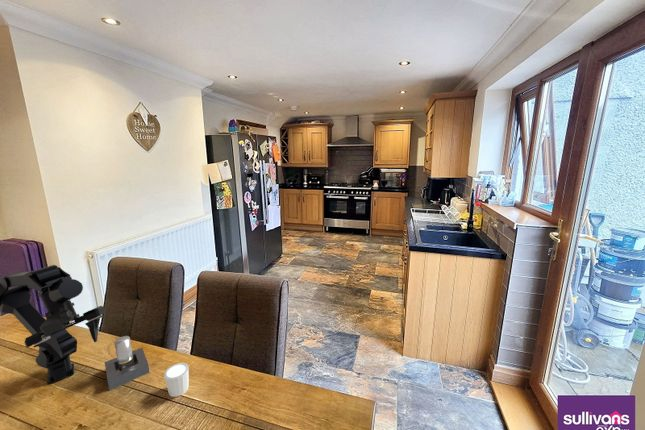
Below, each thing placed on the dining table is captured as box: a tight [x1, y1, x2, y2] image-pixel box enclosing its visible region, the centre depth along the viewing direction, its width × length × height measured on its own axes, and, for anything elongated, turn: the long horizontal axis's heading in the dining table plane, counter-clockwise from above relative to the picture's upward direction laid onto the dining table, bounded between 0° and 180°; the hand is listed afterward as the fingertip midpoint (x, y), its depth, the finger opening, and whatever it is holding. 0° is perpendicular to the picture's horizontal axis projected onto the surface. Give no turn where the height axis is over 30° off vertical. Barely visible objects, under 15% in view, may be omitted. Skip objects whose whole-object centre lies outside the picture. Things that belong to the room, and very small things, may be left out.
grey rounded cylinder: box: [114, 335, 135, 372], centre depth 92 cm, size 4×4×12 cm
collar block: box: [104, 347, 150, 391], centre depth 93 cm, size 11×11×4 cm
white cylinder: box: [163, 362, 190, 398], centre depth 86 cm, size 7×7×7 cm
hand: (79, 349), depth 85 cm, fingers open, 9 cm apart
